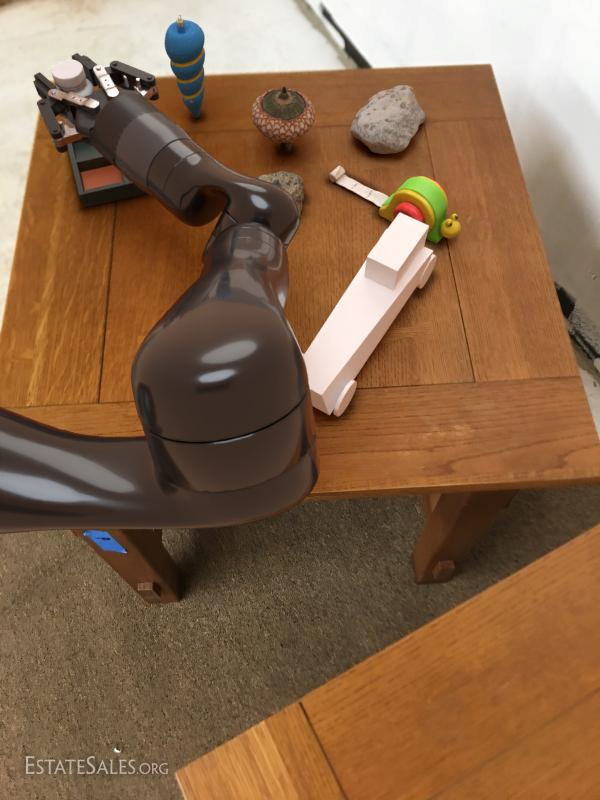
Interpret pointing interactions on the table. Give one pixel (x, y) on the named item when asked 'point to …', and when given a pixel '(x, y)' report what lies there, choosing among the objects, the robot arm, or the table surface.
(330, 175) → the toy measuring tape
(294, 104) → the acorn
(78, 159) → the compartment tray
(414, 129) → the decorative stone
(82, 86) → the pill bottle
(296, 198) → the rock
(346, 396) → the toy truck
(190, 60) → the ornament
